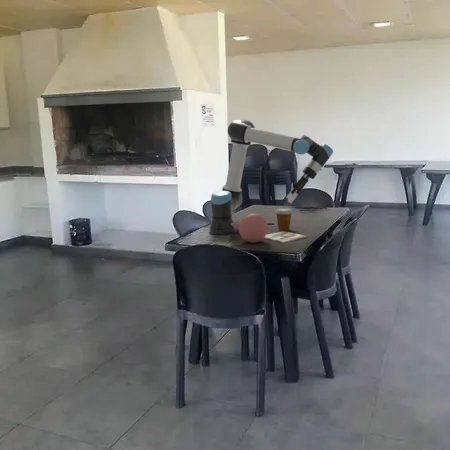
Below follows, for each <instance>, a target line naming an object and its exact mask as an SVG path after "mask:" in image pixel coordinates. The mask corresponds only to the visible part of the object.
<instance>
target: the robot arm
mask: <svg viewBox="0 0 450 450" xmlns="http://www.w3.org/2000/svg"><path fill="white" fill-rule="evenodd" d="M255 127H256V126H255V125H254V124H253V122H251V121H249V120H247V119H237V120H233V121H232V122H231V123H230V124H229V125H228V127H227V135H228V137H229V138H230V143H231V144H232V148H231V153H230V159H229V164H228V171H227V175H226V181H225V184H224V185H223V186H222V190H219V191H215V192H213V193H212V194H211V196H210V197H211V198H210V201H211V202H210V205H211V206H210V207H211V222H210V225H209V230H208V231H209V233H210V234H212V235H217V236H218V235H219V236H221V235H222V236H223V235H224V236H225V235H231V234H235V233H236V228H234V227H233V226H232V225H231V223H234V221H233V211H235V210H237V209H238V208H239V207H240V206H241V205H242V203H243V195H242V193H243V192H242V191H243V190H242V188H241V184H242V177H243V172H244V167H245V163H246V157H247V152H248V151H247V150H248V147H250V146H251V144H252V143H255V144H257V145H262V146H266V147H271V148H276V149H279V150H280V149H281V150H284V151H289V152H292V153H296V154H297V155H305V154H307V155H309V156H311V159H310V160H309V161H308V163H307V164H306V166H305V167H304V168H303V170H302V174H303V175H301V177H300V179H298V180H297V182H295V184H294V185H292V189H291V190H290V191H289V193H288V194H287V196H286V197H285V198H286V199H287V203H290V204H293V202H294V200H295V199H296V198H297V197H298V196H300V195H301V191H302V190H303V189H304V187H305V186H306V184H307V183H309V179H311V180H314V179H315V178H316V177H317V175H318V173H319V172H321V171H323V170H322V168H323V167H324V166H325V164H326V163H327V162H328V161H329V159H330V158H331V156H332V155H333V153H334V150H333V148H331V146H330V145H328V144H326V143H322V145H320V144H319V143H317V142H316V141H315V140H314V139H312V138H310V136H307V135H305V134H302V135H301V136H300V137H293V136H289V135H285V134H280V133H275V132H271V131H268V130H264V129H263V130H262V129H258V128H255Z"/></svg>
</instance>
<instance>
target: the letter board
mask: <svg viewBox="0 0 450 450" xmlns="http://www.w3.org/2000/svg"><path fill="white" fill-rule="evenodd" d="M307 238H308V235H303V234H300V233H299V234H298V233H294V232H290V231H278V232H272V233H267V234H266V236H265V237H264V238H263V239H264V240H269V241H273V242H277V243H281V244H284V243H289V242H292V241H293V242H294V241H297V240H301V239H302V240H303V239H307Z"/></svg>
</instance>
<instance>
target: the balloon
mask: <svg viewBox="0 0 450 450" xmlns="http://www.w3.org/2000/svg"><path fill="white" fill-rule="evenodd" d="M231 225H232V226H233V227H234V228H235V229H236V230H238V233H239V235H240V237H241V238H242V239H243V240H244V241H246V242H248V243H253V244H254V243H259V242H261V241H262V240H264V239H265V238H264V237H265V236H266V235H268V229H269V226H268V223H267V220H266V219H265V218H264V217H263V216H262V215H260V214H258V213H253V212H252V213H249V214H246V215H244V216H243V217H242V218H241V219H240V220H237V221H233V223H231Z"/></svg>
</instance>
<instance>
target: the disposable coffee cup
mask: <svg viewBox="0 0 450 450" xmlns="http://www.w3.org/2000/svg"><path fill="white" fill-rule="evenodd" d="M292 212H293V210H292V209H291V208H288V207H287V208H286V207H283V208H276V210H275V215H276V221H277V229H278V230H279V231H280V232H283V231H286V232H288V231H290V227H291V218H292V217H291V216H292Z"/></svg>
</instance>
